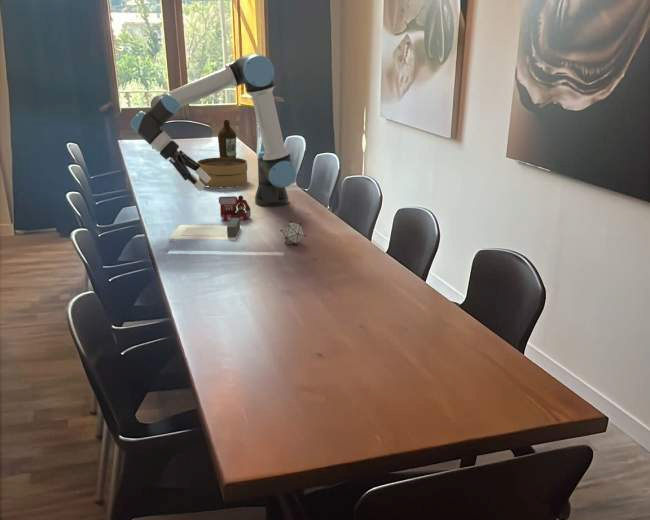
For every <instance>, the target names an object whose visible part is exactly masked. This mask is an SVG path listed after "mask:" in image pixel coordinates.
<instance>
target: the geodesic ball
mask: <svg viewBox="0 0 650 520" xmlns="http://www.w3.org/2000/svg"><path fill="white" fill-rule="evenodd" d="M301 225H302V222H300V223H294V222H291V220H289V223H288V224H287V225H286V226H285V227H284V228H283V229H280V230H279V232H282V235H283V237H284V240H285V241H284V243H285V244H287V243H290V244H295V246H296V247H297V246H298V243H299V242H300V241H301V240H302V239H303V238H304V237H307V235H305V233H304V230H303V228H302V226H301Z"/></svg>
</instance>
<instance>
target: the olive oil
mask: <svg viewBox="0 0 650 520" xmlns="http://www.w3.org/2000/svg"><path fill="white" fill-rule="evenodd" d="M230 122H231V121H230V119H228V118H224V119H223V127H221V129H220V130H219V132H218V133H217V139H218V151H219V158H221V157H226V158H237V133H236V131H235V130H234V129H233V128H232V127H231V125H230Z"/></svg>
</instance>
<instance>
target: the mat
mask: <svg viewBox="0 0 650 520" xmlns="http://www.w3.org/2000/svg"><path fill="white" fill-rule="evenodd" d="M227 226H228V224H227V225H226V224H225V225H222V224H221V225H219V224H218V225H216V224H214V225H213V224H179V226H177V228H176V230H174V232H173V233H172V235H171V236H170V237H169V238H168V242H169V241H171V242H173V243H174V241H175V240H200V241H201V240H204V241H205V240H206V241H207V240H210V241H236V239H237V237H238V235H239V233H240V231H241V229H242V225H240V229H239V231H238V233H237V236H236V237H227ZM171 242H170V243H171Z"/></svg>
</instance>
